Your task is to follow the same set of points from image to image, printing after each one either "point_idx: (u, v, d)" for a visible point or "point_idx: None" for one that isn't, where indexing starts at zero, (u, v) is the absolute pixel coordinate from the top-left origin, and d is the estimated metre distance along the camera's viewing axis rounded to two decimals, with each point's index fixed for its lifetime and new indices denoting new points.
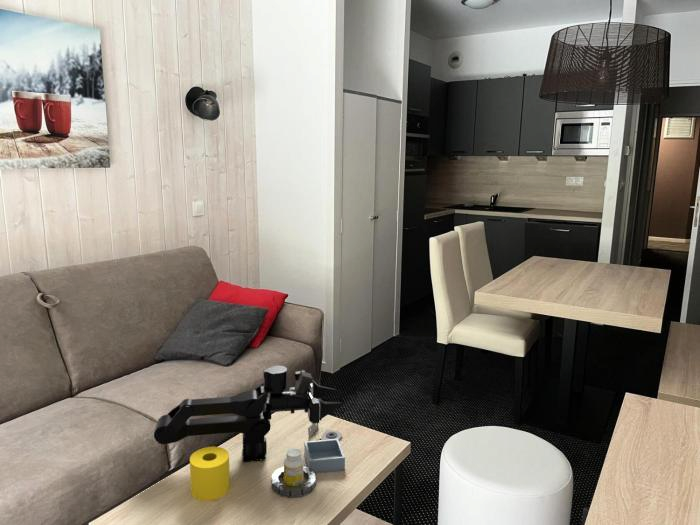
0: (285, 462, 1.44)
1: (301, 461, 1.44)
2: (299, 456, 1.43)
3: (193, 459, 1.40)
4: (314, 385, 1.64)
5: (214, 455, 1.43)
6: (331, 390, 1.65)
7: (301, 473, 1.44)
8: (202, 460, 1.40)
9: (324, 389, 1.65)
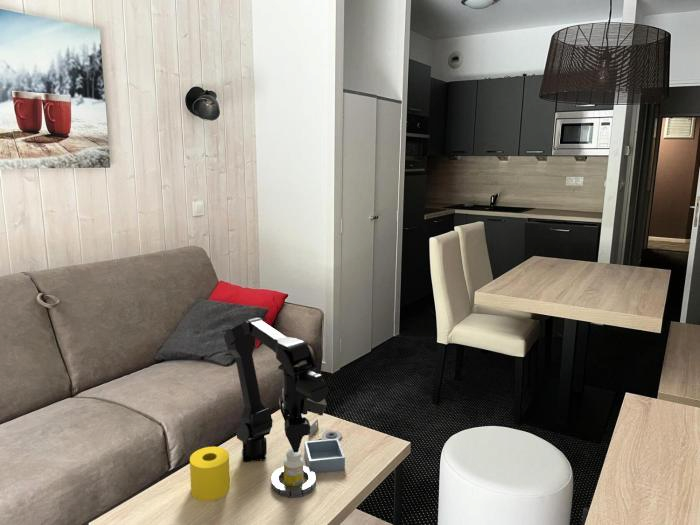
0: (285, 462, 1.44)
1: (301, 461, 1.44)
2: (299, 456, 1.43)
3: (193, 459, 1.40)
4: None
5: (214, 455, 1.43)
6: None
7: (301, 473, 1.44)
8: (202, 460, 1.40)
9: None
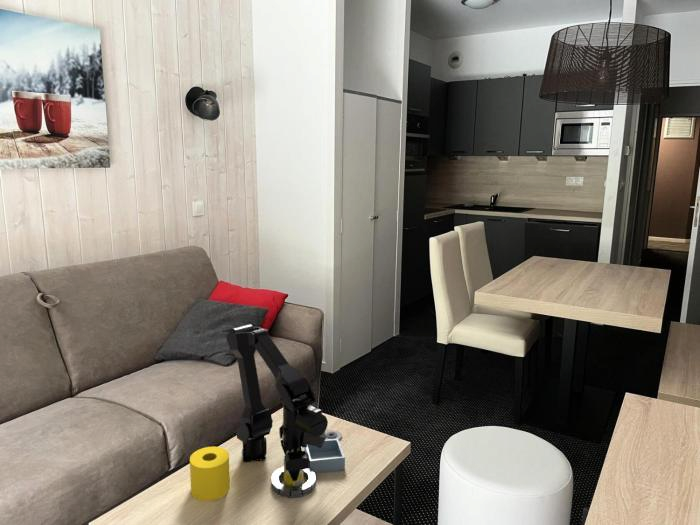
0: None
1: None
2: None
3: (193, 459, 1.40)
4: None
5: (214, 455, 1.43)
6: None
7: (301, 473, 1.44)
8: (202, 460, 1.40)
9: None
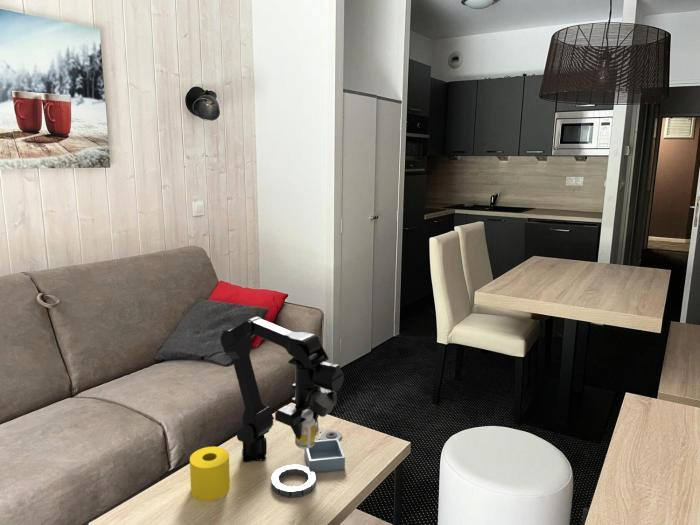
0: None
1: (308, 423, 1.44)
2: (306, 417, 1.44)
3: (193, 459, 1.40)
4: None
5: (214, 455, 1.43)
6: None
7: (306, 435, 1.45)
8: (202, 460, 1.40)
9: None
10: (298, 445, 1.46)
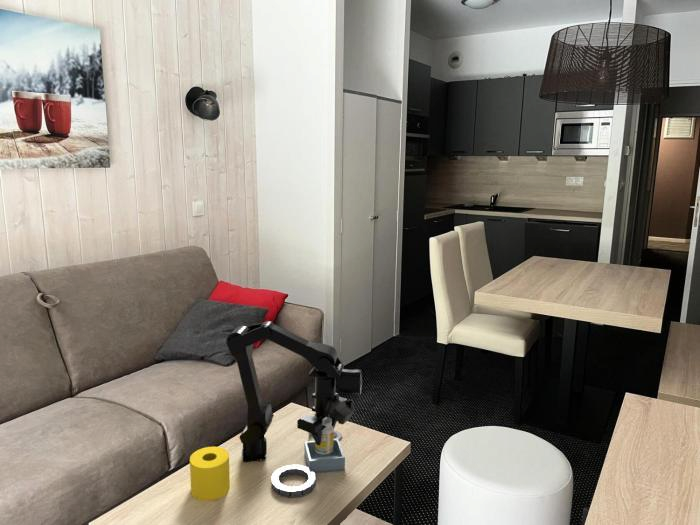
0: None
1: (328, 430, 1.53)
2: (325, 424, 1.53)
3: (193, 459, 1.40)
4: None
5: (214, 455, 1.43)
6: None
7: (326, 441, 1.53)
8: (202, 460, 1.40)
9: None
10: (318, 451, 1.54)
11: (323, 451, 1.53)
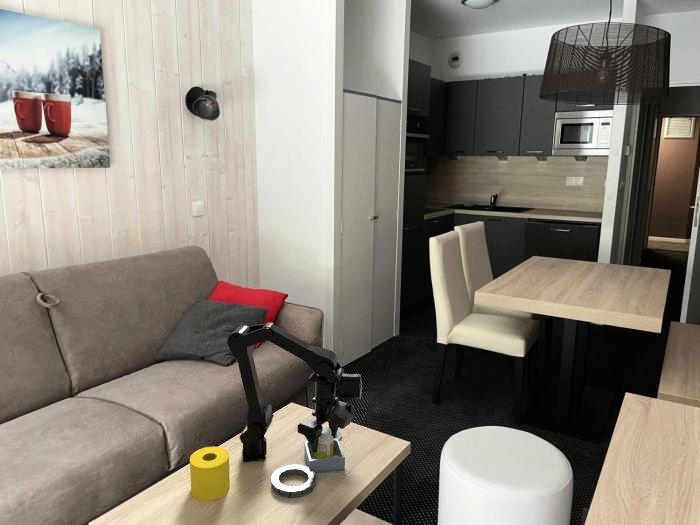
0: None
1: (327, 440, 1.53)
2: (325, 435, 1.53)
3: (193, 459, 1.40)
4: None
5: (214, 455, 1.43)
6: (333, 434, 1.59)
7: (325, 451, 1.53)
8: (202, 460, 1.40)
9: (335, 427, 1.59)
10: None
11: None
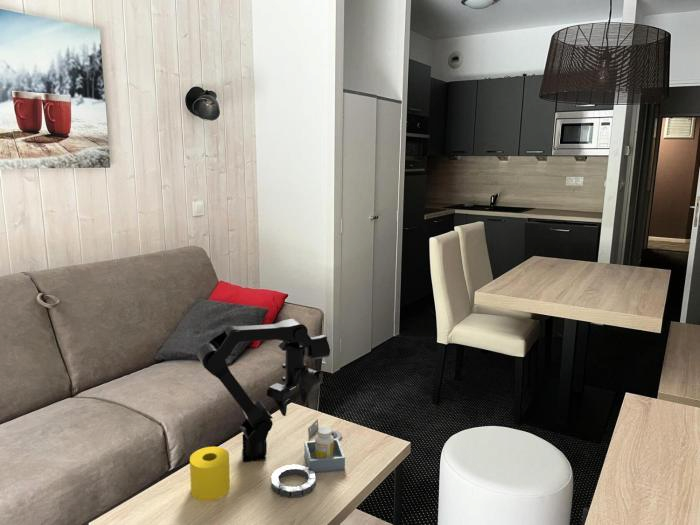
0: (316, 436, 1.56)
1: (327, 441, 1.53)
2: (325, 435, 1.53)
3: (193, 459, 1.40)
4: None
5: (214, 455, 1.43)
6: (304, 400, 1.66)
7: (326, 451, 1.53)
8: (202, 460, 1.40)
9: (305, 394, 1.65)
10: None
11: None
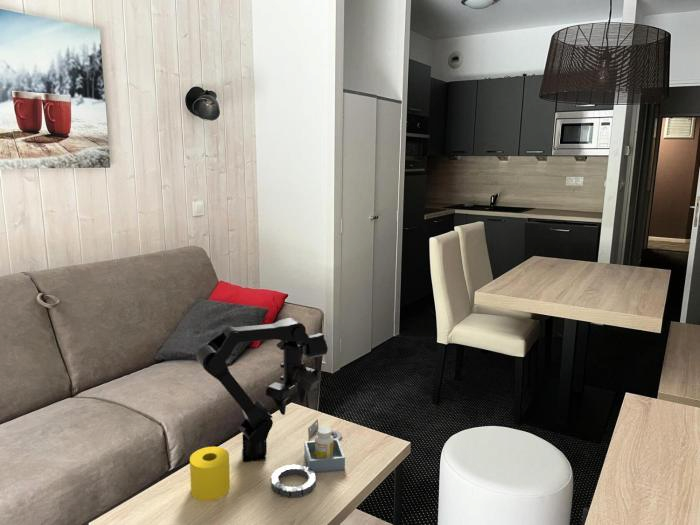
0: (316, 436, 1.56)
1: (327, 440, 1.53)
2: (325, 435, 1.53)
3: (193, 459, 1.40)
4: None
5: (214, 455, 1.43)
6: (302, 399, 1.67)
7: (325, 451, 1.54)
8: (202, 460, 1.40)
9: (303, 392, 1.66)
10: None
11: None
